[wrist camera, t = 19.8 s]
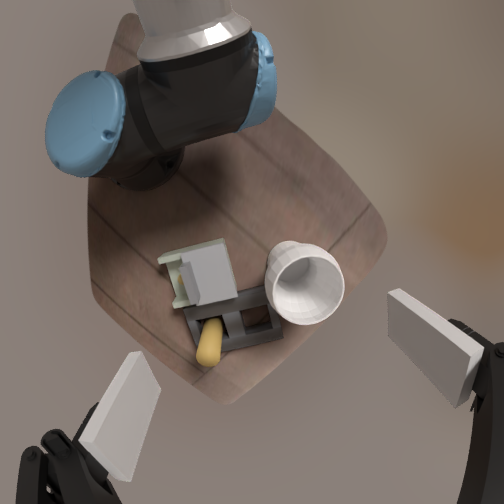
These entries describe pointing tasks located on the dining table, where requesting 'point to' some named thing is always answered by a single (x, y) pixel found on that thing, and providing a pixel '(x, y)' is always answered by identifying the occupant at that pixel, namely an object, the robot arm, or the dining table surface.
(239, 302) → the peg board
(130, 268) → the dining table surface
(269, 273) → the cup
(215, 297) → the lid
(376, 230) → the dining table surface
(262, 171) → the dining table surface
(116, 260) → the dining table surface
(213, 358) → the peg
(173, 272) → the pale green box tray
